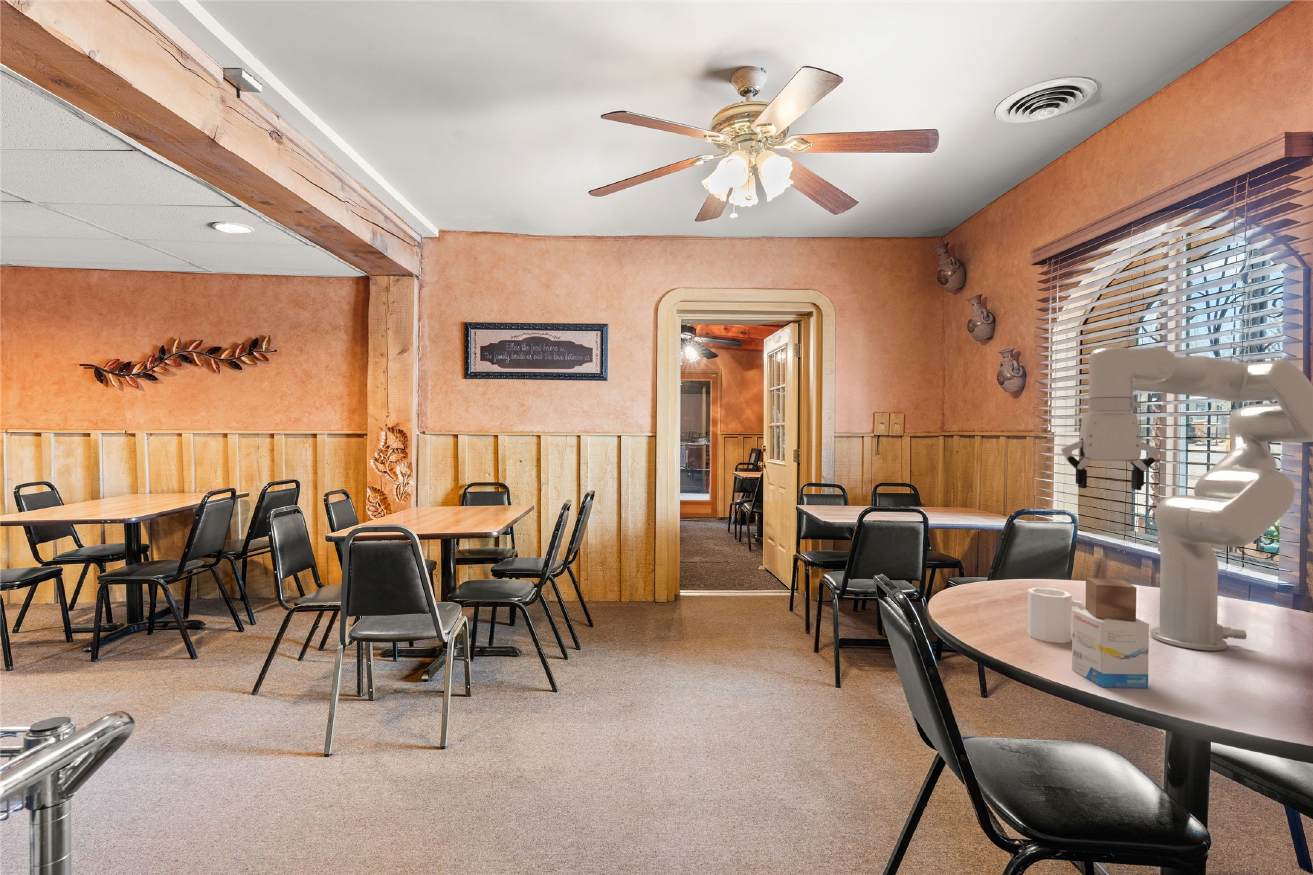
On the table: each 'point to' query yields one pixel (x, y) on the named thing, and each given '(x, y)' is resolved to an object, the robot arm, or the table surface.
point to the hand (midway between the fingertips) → (1109, 488)
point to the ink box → (1110, 650)
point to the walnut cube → (1111, 599)
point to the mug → (1050, 614)
